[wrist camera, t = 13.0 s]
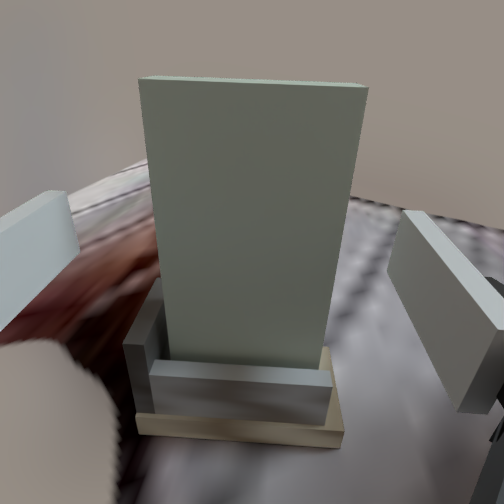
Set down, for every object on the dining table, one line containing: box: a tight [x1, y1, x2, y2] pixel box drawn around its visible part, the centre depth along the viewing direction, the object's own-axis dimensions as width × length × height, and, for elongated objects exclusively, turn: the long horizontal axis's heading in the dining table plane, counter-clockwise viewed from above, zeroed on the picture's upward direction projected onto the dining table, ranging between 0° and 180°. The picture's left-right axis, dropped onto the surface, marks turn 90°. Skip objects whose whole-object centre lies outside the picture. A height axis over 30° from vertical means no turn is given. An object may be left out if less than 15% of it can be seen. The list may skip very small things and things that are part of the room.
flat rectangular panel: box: [138, 76, 369, 370], centre depth 17 cm, size 8×3×16 cm, turn 87°
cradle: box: [123, 278, 345, 448], centre depth 20 cm, size 11×6×6 cm, turn 87°
